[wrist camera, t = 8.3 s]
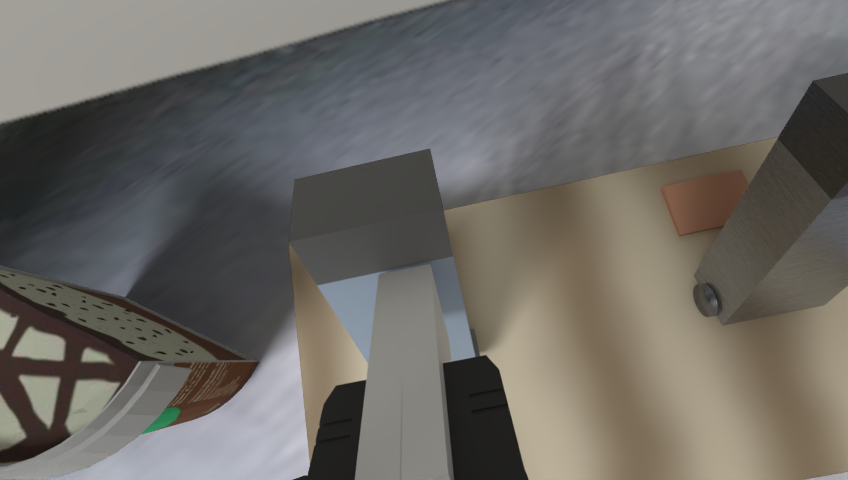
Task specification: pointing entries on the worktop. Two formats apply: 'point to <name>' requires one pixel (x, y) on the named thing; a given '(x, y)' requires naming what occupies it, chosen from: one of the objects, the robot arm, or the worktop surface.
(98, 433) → the food container
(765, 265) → the lever
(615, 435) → the switch board
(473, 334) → the lever
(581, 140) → the worktop surface
